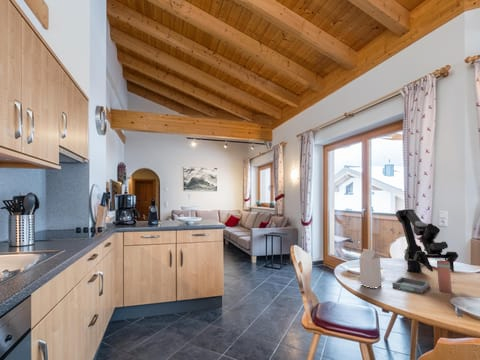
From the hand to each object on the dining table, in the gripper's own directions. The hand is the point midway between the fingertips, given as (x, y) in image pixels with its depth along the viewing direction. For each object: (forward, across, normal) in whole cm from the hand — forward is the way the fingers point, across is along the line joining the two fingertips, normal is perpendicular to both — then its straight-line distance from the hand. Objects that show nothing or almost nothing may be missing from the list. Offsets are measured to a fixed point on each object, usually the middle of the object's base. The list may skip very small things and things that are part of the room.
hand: (442, 271), depth 131 cm
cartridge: (+7, 0, +6) cm, 9 cm away
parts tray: (+5, -14, +8) cm, 17 cm away
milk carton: (+5, -33, +8) cm, 35 cm away
